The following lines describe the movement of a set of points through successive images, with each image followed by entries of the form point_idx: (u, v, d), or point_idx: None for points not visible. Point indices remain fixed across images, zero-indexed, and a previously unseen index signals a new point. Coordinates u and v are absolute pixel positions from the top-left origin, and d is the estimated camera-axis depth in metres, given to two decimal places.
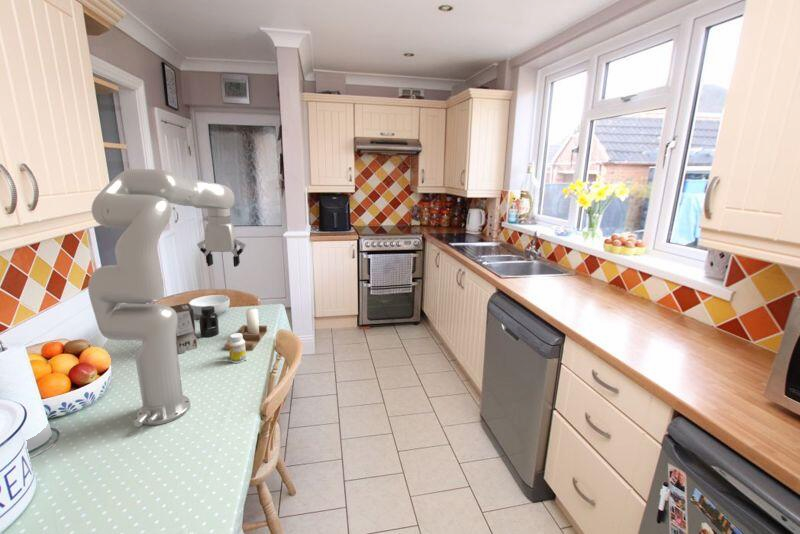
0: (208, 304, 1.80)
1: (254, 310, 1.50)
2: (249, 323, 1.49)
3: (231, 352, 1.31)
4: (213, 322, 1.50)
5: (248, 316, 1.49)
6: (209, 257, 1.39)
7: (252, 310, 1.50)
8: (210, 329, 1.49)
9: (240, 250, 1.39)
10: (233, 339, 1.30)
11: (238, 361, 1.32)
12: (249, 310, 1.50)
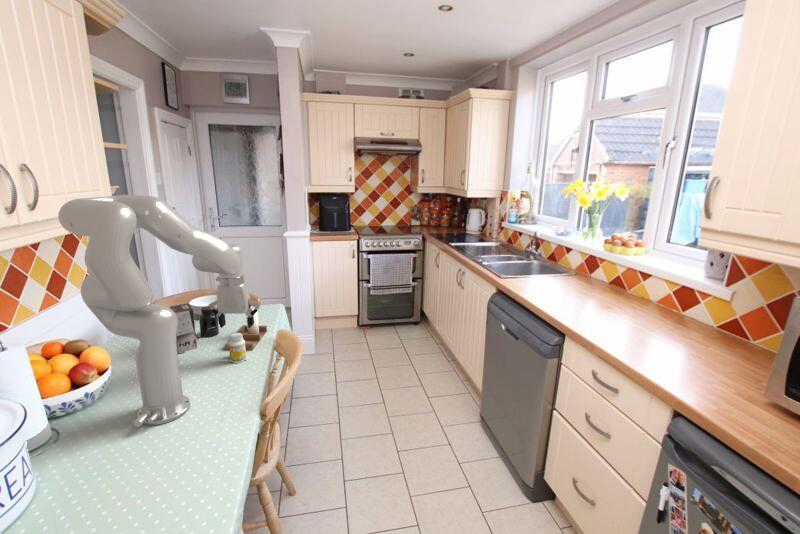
0: (208, 304, 1.80)
1: None
2: None
3: (231, 352, 1.31)
4: (213, 322, 1.50)
5: None
6: (222, 318, 1.30)
7: None
8: (210, 329, 1.49)
9: (255, 311, 1.30)
10: (233, 339, 1.30)
11: (238, 361, 1.32)
12: None
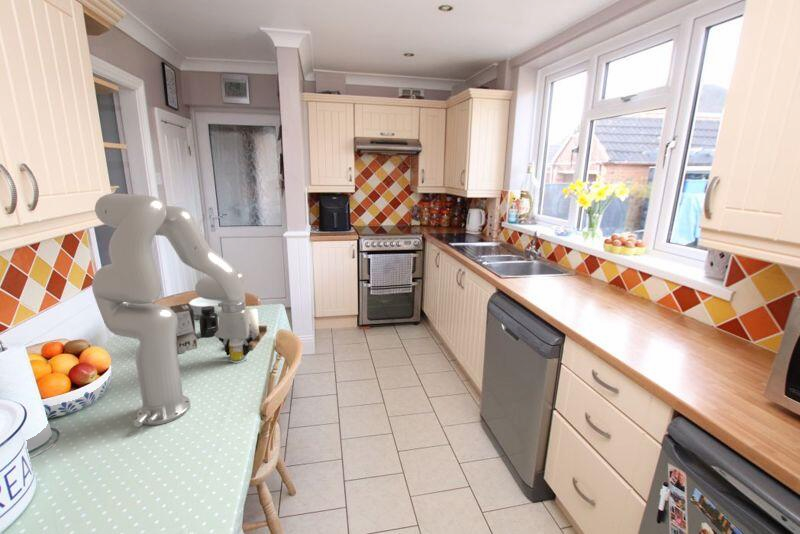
0: (208, 304, 1.80)
1: (254, 310, 1.50)
2: None
3: (231, 352, 1.31)
4: (213, 322, 1.50)
5: None
6: (228, 346, 1.32)
7: (251, 310, 1.50)
8: (210, 329, 1.49)
9: (250, 339, 1.32)
10: (233, 339, 1.30)
11: (238, 361, 1.32)
12: (249, 310, 1.50)
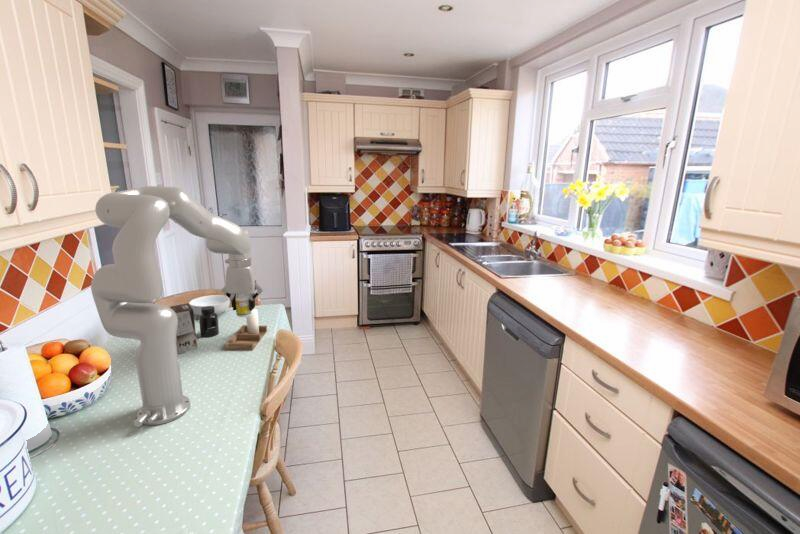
0: (208, 304, 1.80)
1: (254, 310, 1.50)
2: (249, 323, 1.49)
3: (237, 306, 1.39)
4: (213, 322, 1.50)
5: (248, 316, 1.48)
6: (234, 301, 1.40)
7: (252, 310, 1.49)
8: (210, 329, 1.49)
9: (256, 294, 1.39)
10: (239, 294, 1.38)
11: (244, 315, 1.39)
12: None
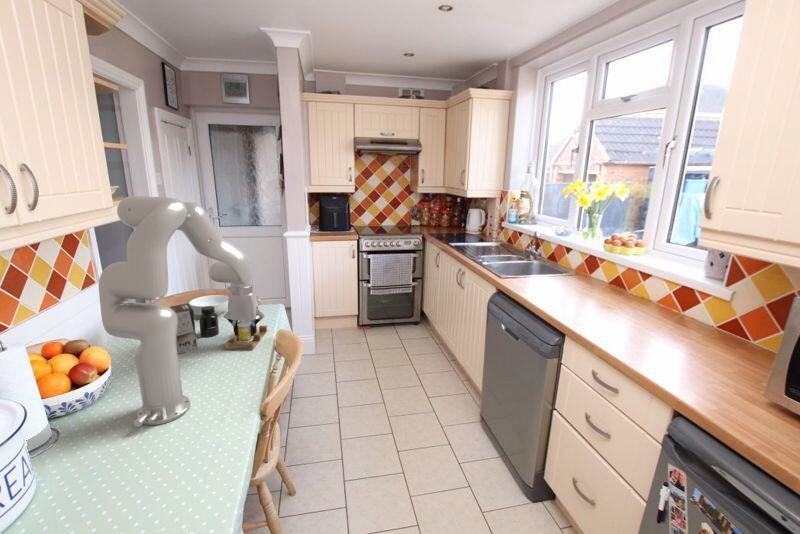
0: (208, 304, 1.80)
1: None
2: None
3: (239, 332, 1.41)
4: (213, 322, 1.50)
5: None
6: (237, 327, 1.42)
7: None
8: (210, 328, 1.49)
9: (257, 320, 1.42)
10: (241, 320, 1.40)
11: (246, 341, 1.42)
12: None
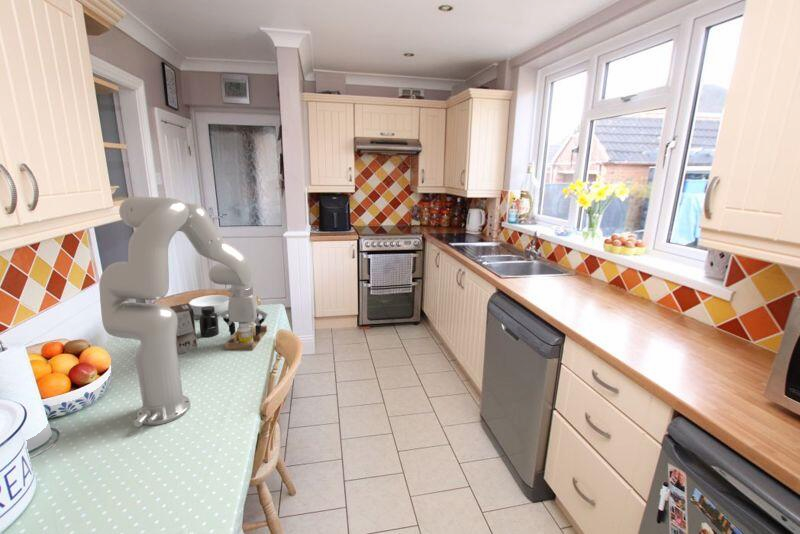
0: (208, 304, 1.80)
1: None
2: (250, 323, 1.49)
3: (239, 337, 1.41)
4: (213, 322, 1.50)
5: None
6: (232, 326, 1.42)
7: None
8: (210, 329, 1.49)
9: (262, 320, 1.42)
10: (241, 325, 1.41)
11: None
12: None
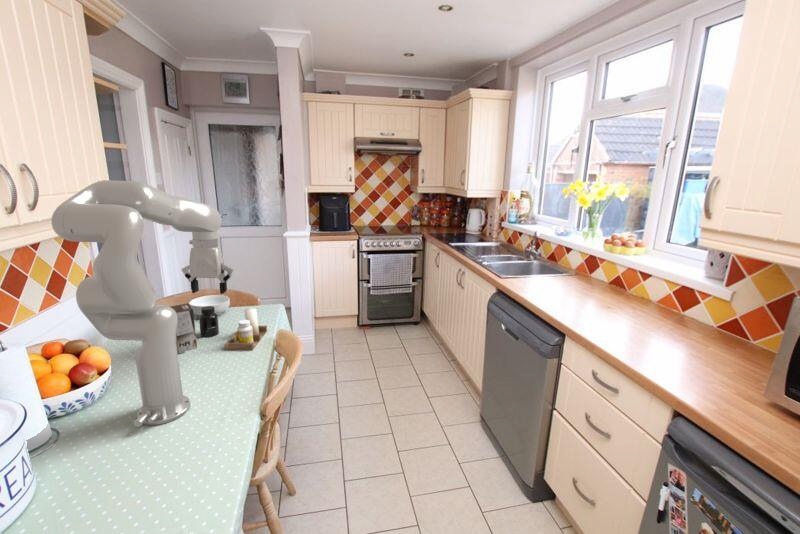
0: (208, 304, 1.80)
1: (252, 309, 1.50)
2: None
3: (239, 337, 1.41)
4: (213, 322, 1.50)
5: (248, 316, 1.48)
6: (194, 283, 1.29)
7: (250, 310, 1.50)
8: (210, 329, 1.49)
9: (227, 276, 1.28)
10: (241, 325, 1.41)
11: None
12: (247, 310, 1.50)
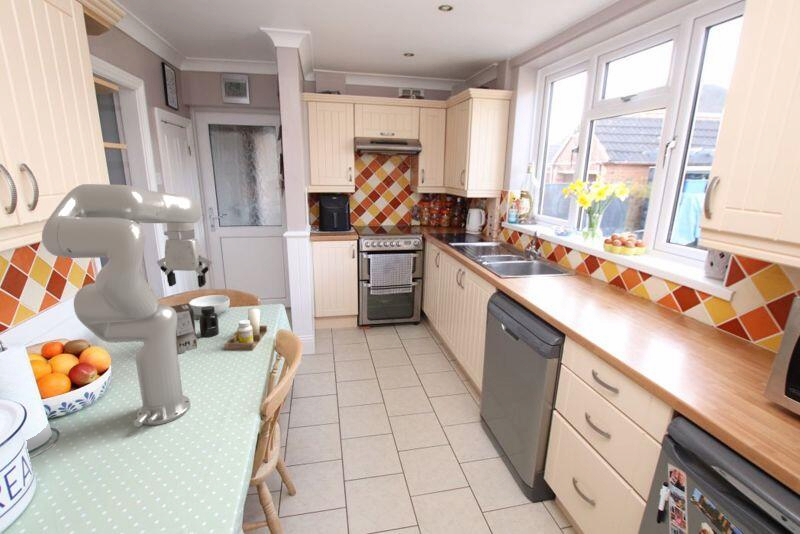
0: (208, 304, 1.80)
1: (256, 309, 1.51)
2: (252, 323, 1.49)
3: (239, 337, 1.41)
4: (213, 322, 1.50)
5: (251, 316, 1.49)
6: (171, 276, 1.23)
7: (254, 310, 1.50)
8: (210, 329, 1.49)
9: (205, 268, 1.23)
10: (241, 325, 1.41)
11: None
12: (251, 310, 1.50)
